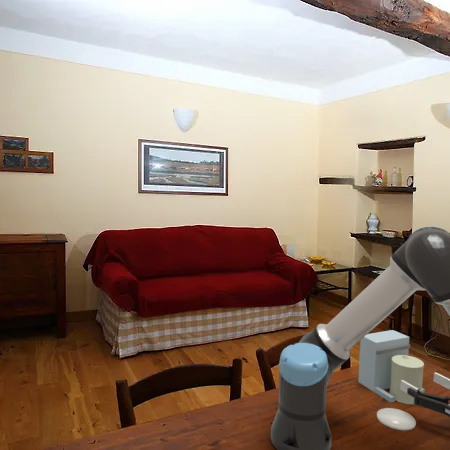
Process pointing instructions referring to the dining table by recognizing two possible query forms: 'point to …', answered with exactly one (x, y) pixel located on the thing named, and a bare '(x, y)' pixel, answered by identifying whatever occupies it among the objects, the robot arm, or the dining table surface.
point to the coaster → (396, 419)
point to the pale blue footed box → (380, 360)
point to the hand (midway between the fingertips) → (418, 380)
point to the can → (405, 376)
